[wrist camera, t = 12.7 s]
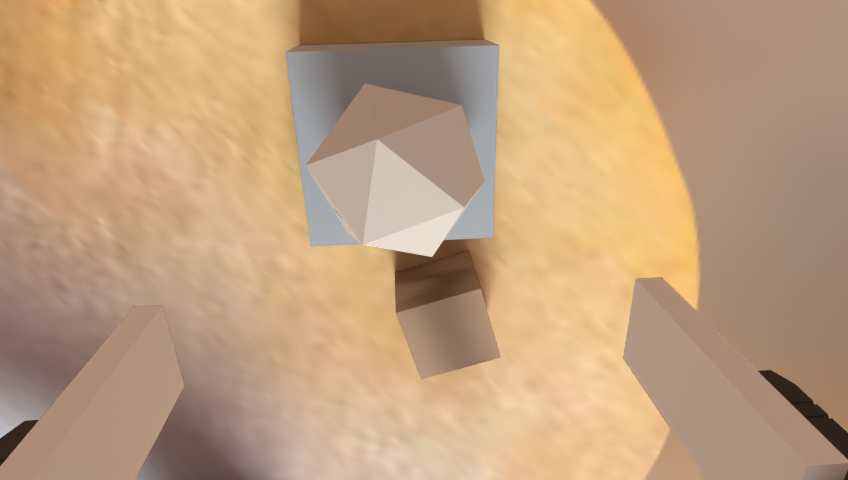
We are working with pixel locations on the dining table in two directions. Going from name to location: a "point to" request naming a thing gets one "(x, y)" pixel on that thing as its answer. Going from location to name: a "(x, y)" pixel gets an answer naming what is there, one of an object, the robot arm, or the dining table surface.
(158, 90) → the dining table surface
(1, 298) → the dining table surface
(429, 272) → the walnut cube
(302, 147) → the plinth
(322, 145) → the die
